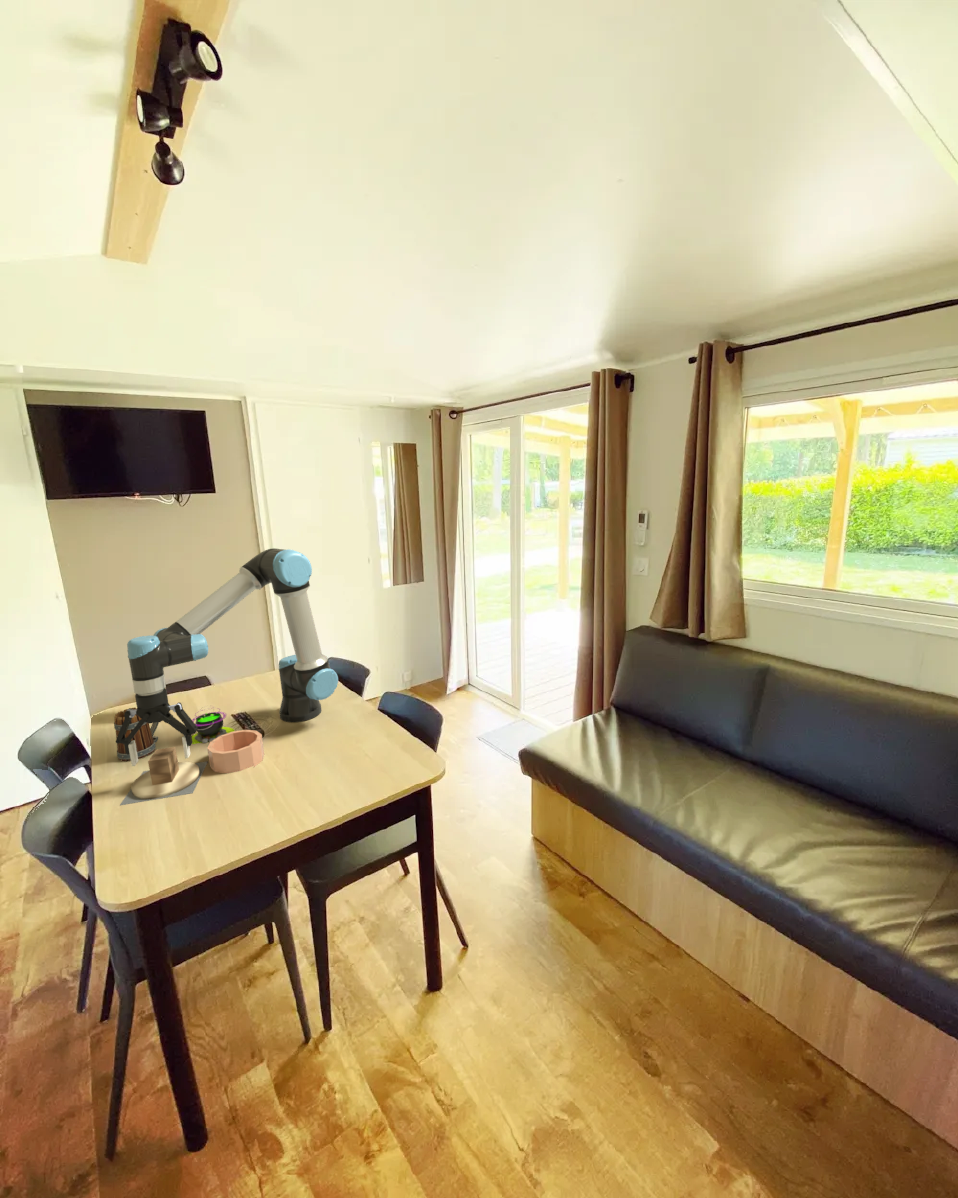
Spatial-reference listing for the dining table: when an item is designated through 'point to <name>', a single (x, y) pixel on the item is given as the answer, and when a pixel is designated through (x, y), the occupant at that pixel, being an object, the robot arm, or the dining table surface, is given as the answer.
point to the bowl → (236, 751)
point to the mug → (136, 736)
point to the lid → (165, 775)
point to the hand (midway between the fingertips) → (161, 760)
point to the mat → (189, 790)
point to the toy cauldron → (209, 727)
